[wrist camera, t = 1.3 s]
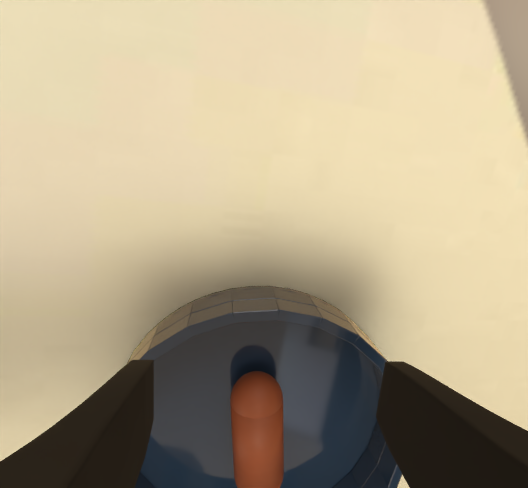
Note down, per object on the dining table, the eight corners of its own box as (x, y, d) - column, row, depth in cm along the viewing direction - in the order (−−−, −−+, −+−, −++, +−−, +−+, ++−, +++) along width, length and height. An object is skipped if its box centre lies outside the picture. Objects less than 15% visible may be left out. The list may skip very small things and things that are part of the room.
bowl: (259, 554, 24) (264, 617, 21) (56, 429, 20) (22, 482, 17) (433, 395, 23) (469, 435, 19) (249, 225, 19) (253, 239, 15)
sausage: (280, 466, 22) (287, 512, 19) (234, 471, 22) (235, 518, 19) (278, 358, 20) (286, 391, 17) (229, 362, 20) (229, 395, 17)
